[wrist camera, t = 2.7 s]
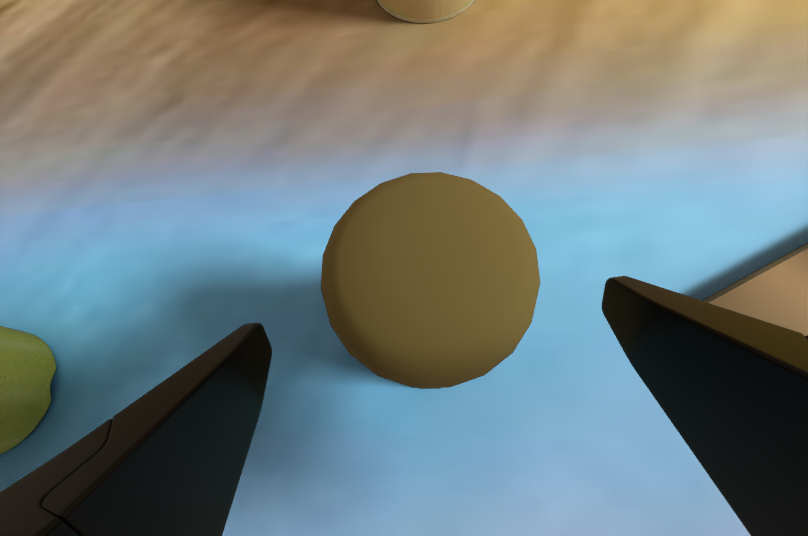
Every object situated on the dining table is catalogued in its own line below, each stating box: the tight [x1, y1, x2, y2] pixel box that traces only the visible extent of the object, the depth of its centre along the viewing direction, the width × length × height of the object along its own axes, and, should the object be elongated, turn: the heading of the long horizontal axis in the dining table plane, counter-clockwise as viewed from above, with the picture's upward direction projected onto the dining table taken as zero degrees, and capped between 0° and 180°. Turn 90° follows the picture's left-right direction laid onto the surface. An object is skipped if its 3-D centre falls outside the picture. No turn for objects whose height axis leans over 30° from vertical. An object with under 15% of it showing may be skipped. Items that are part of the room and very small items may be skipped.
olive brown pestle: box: [321, 172, 540, 389], centre depth 12 cm, size 6×6×11 cm
